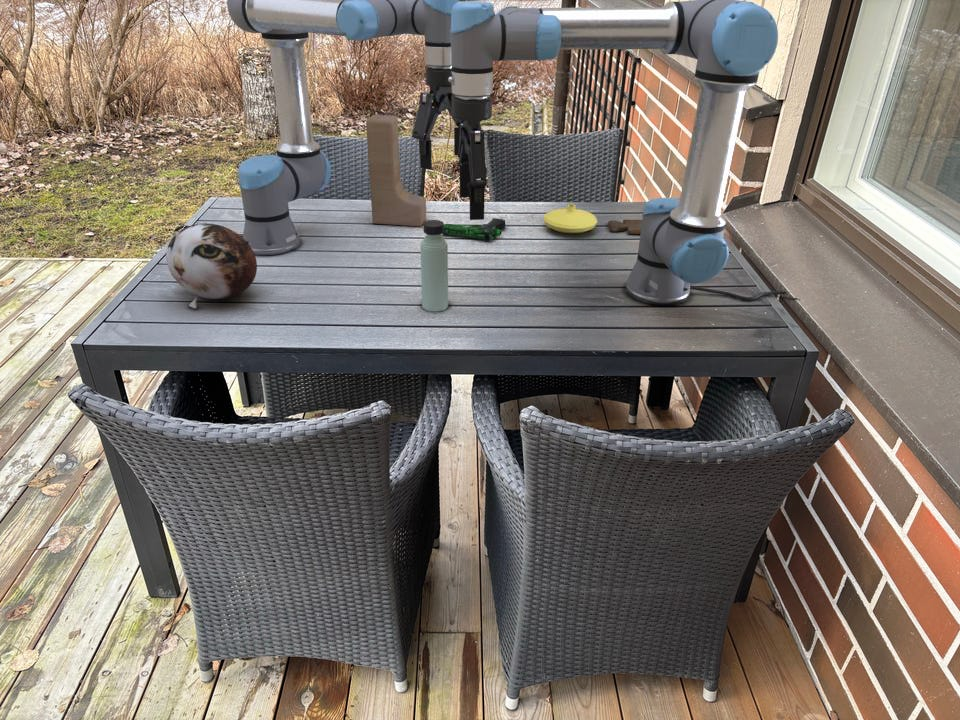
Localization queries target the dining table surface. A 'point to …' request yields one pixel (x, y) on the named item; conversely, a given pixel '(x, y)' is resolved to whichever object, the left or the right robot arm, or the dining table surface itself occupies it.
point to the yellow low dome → (570, 220)
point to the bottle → (434, 272)
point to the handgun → (477, 230)
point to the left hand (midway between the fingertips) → (443, 161)
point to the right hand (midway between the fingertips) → (471, 207)
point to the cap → (433, 227)
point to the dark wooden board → (626, 226)
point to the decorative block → (389, 176)
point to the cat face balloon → (211, 261)
